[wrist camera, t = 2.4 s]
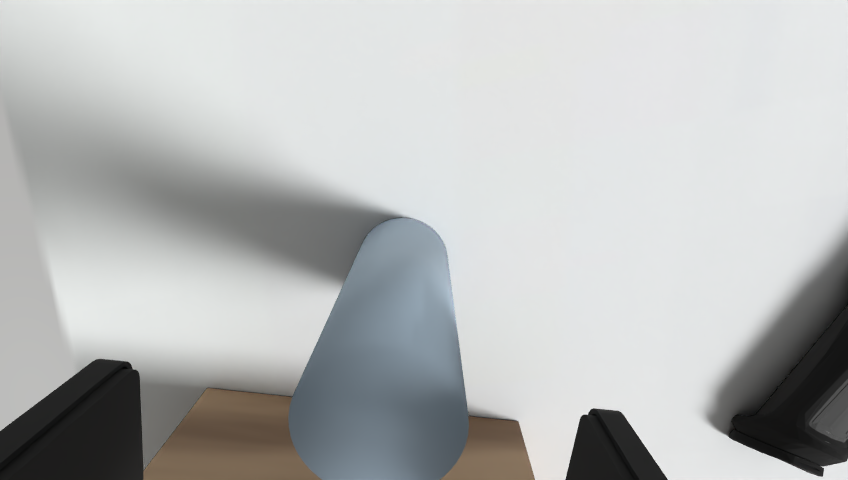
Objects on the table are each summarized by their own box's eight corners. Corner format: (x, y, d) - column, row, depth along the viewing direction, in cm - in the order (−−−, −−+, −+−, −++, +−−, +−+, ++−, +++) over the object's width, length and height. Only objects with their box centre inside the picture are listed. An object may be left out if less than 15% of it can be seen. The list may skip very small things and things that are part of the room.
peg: (362, 212, 18) (292, 335, 9) (453, 223, 18) (481, 356, 9) (355, 296, 19) (285, 489, 10) (441, 306, 19) (455, 506, 10)
